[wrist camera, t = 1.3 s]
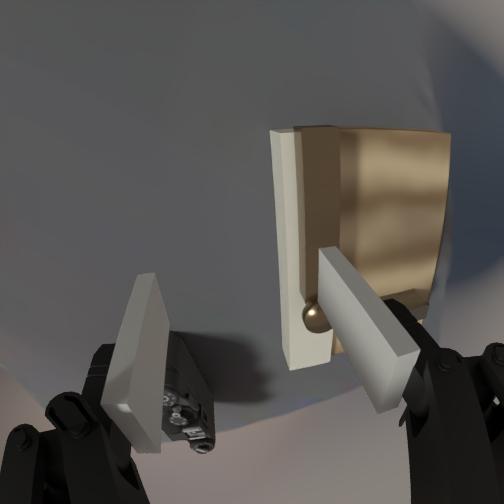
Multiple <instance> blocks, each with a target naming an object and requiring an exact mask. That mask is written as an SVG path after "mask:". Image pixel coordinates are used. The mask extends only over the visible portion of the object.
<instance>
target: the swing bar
mask: <svg viewBox="0 0 504 504" xmlns="http://www.w3.org/2000/svg"><path fill="white" fill-rule="evenodd" d="M293 129H294V144H295V162H296V181H297V204H298V234H299V290H300V293H301V295H302V297H303V299H304V301H305V303H308V304H307V305H306V306H305V307H304V309H303V311H302V320H303V322H304V325H305V327H306V329H307V330H308V331H310V332H312V333H316V334H320V333H325V332H327V331H329V330H331V329H333V328H332V326H331V325H330V323H329V321H328V319H327V317H326V316H325V314H324V312H323V310H322V308H321V306H320V305H319V303H318V274H319V248H326V247H333V246H336V247H337V248H338V250H339V245H340V208H341V166H340V130H339V127H338V126H332V125H316V126H293Z"/></svg>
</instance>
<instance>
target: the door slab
mask: <svg viewBox="0 0 504 504" xmlns="http://www.w3.org/2000/svg"><path fill="white" fill-rule="evenodd" d="M339 130H340V166H341V208H340V245H339V251H340V252H341V253H342V254H343V255H344V256H345V257H346V259H347V260H348V261H349V262H350V263H351V264H352V266H353V267H354V268H355V269H356V270H357V271H358V273H359V274H360V275H361V276H362V277H363V278H364V280H365V281H366V282H367V283H368V284H369V286H370V287H371V288H372V289H373V290H374V291H375V293H376V294H377V295H378V296H379V297H381V296H385V295H389V294H394V293H398V292H402V291H406V290H410V289H415V290H416V291H417V292H418V293H419V294H420V295H421V296H422V297H423V298H424V299H425V301H426V302H427V301H428V298H429V294H430V289H431V285H432V281H433V277H434V272H435V267H436V262H437V257H438V252H439V247H440V241H441V235H442V229H443V222H444V215H445V207H446V199H447V189H448V178H449V165H450V144H451V134H449V133H445V132H440V131H435V130H425V129H410V128H389V127H339ZM422 320H423V319H422ZM422 320H419V321H418V323H420V324H421V323H422ZM343 352H345V351H344V349H343V347H342V345H341V343H340V341H339V339H338V338H337V336H336V334H335V332H334V330H333V338H332V347H331V355H335V354H339V353H343Z"/></svg>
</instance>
